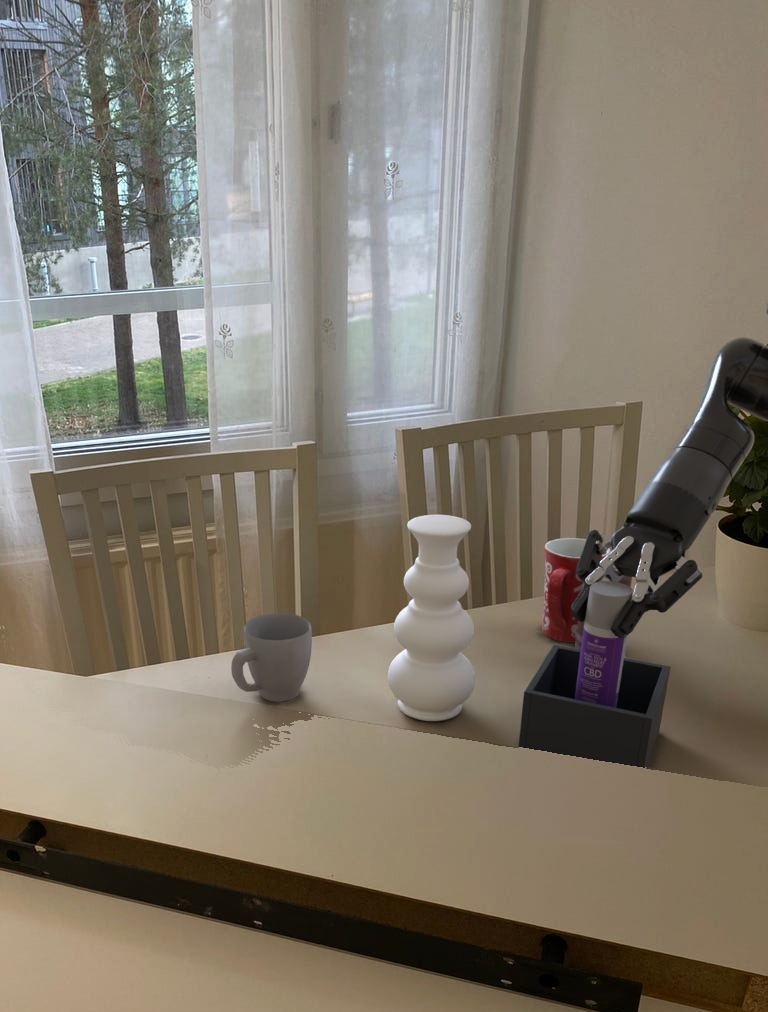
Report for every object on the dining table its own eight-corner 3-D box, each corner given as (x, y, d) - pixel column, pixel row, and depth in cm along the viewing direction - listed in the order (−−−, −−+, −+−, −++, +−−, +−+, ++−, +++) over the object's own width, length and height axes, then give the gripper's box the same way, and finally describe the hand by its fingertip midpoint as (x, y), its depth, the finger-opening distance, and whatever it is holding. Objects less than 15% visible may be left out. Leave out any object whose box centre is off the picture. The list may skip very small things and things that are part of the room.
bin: (659, 732, 110) (670, 666, 106) (640, 790, 99) (652, 719, 96) (546, 707, 116) (553, 644, 112) (517, 760, 105) (523, 691, 102)
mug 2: (551, 615, 142) (560, 533, 136) (608, 629, 137) (620, 544, 131) (514, 643, 133) (522, 557, 128) (574, 660, 128) (585, 570, 122)
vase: (372, 698, 119) (376, 514, 109) (445, 682, 123) (456, 503, 112) (411, 738, 110) (420, 542, 99) (489, 720, 114) (505, 529, 103)
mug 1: (282, 670, 127) (280, 607, 123) (326, 692, 121) (326, 626, 117) (214, 699, 120) (210, 633, 116) (257, 724, 114) (254, 655, 110)
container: (574, 715, 104) (590, 595, 98) (572, 696, 108) (587, 579, 102) (617, 720, 103) (636, 598, 97) (614, 700, 107) (632, 582, 101)
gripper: (612, 466, 104) (531, 590, 103) (730, 495, 93) (641, 632, 92) (634, 502, 109) (557, 620, 108) (748, 533, 98) (664, 664, 97)
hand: (596, 625), depth 100 cm, fingers closed on container, 4 cm apart
